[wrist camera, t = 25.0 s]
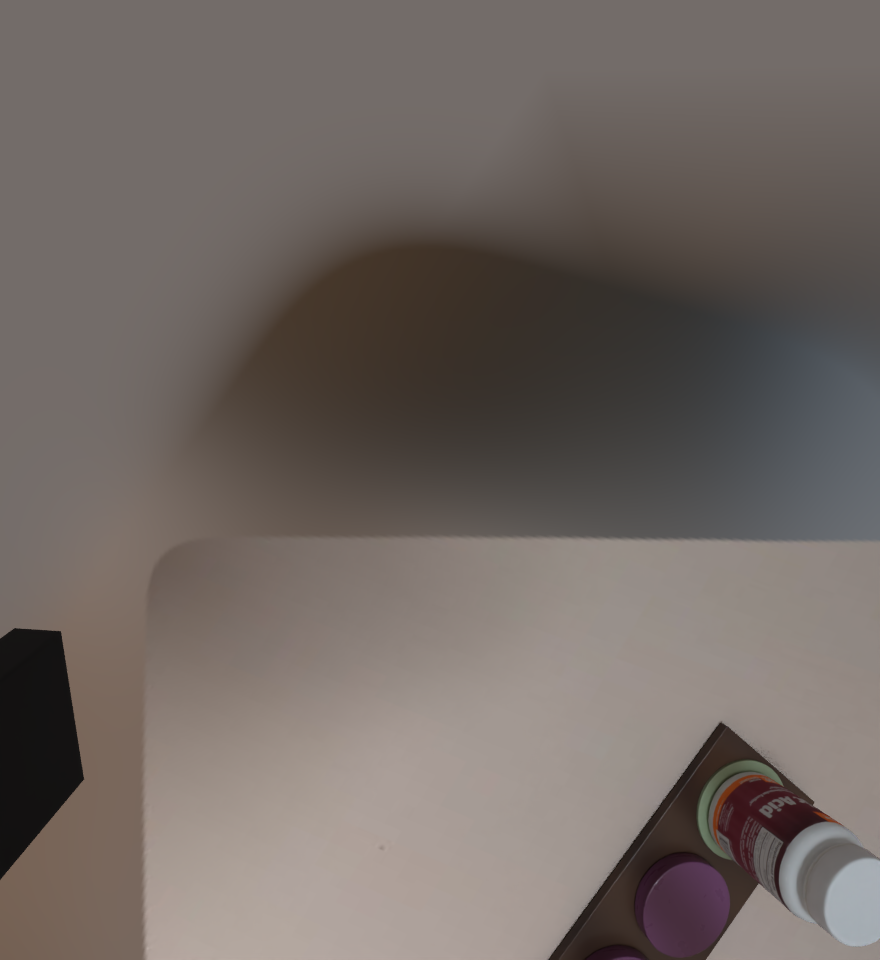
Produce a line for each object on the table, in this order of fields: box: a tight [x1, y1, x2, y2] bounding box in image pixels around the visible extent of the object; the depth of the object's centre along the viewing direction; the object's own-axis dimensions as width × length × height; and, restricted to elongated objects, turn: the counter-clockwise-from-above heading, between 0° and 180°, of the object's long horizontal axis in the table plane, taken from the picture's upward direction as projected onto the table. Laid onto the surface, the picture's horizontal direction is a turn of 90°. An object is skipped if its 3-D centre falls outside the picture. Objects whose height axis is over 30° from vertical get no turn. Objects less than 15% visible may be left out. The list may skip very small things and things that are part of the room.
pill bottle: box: [708, 772, 880, 947], centre depth 36 cm, size 5×5×8 cm
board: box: [549, 723, 814, 960], centre depth 39 cm, size 18×8×2 cm, turn 140°
